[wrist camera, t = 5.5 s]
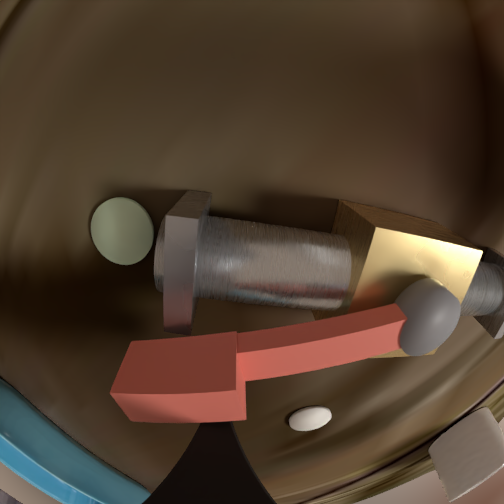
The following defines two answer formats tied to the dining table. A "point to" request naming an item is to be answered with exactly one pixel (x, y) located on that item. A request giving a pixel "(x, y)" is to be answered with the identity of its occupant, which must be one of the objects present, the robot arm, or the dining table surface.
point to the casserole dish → (57, 458)
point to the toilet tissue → (468, 453)
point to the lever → (272, 356)
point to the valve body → (318, 264)
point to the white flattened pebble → (309, 418)
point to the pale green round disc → (122, 230)
